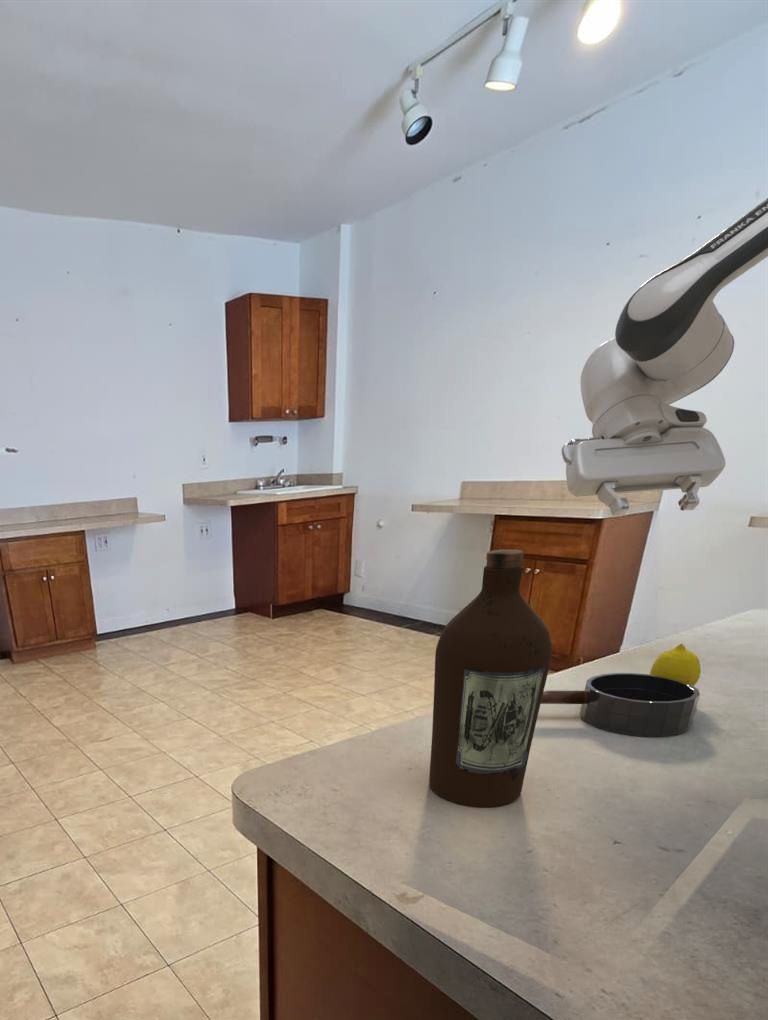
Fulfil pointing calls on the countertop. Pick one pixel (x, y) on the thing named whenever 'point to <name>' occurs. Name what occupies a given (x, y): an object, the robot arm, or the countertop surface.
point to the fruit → (678, 665)
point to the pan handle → (564, 697)
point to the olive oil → (488, 690)
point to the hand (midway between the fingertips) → (655, 509)
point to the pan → (639, 704)
